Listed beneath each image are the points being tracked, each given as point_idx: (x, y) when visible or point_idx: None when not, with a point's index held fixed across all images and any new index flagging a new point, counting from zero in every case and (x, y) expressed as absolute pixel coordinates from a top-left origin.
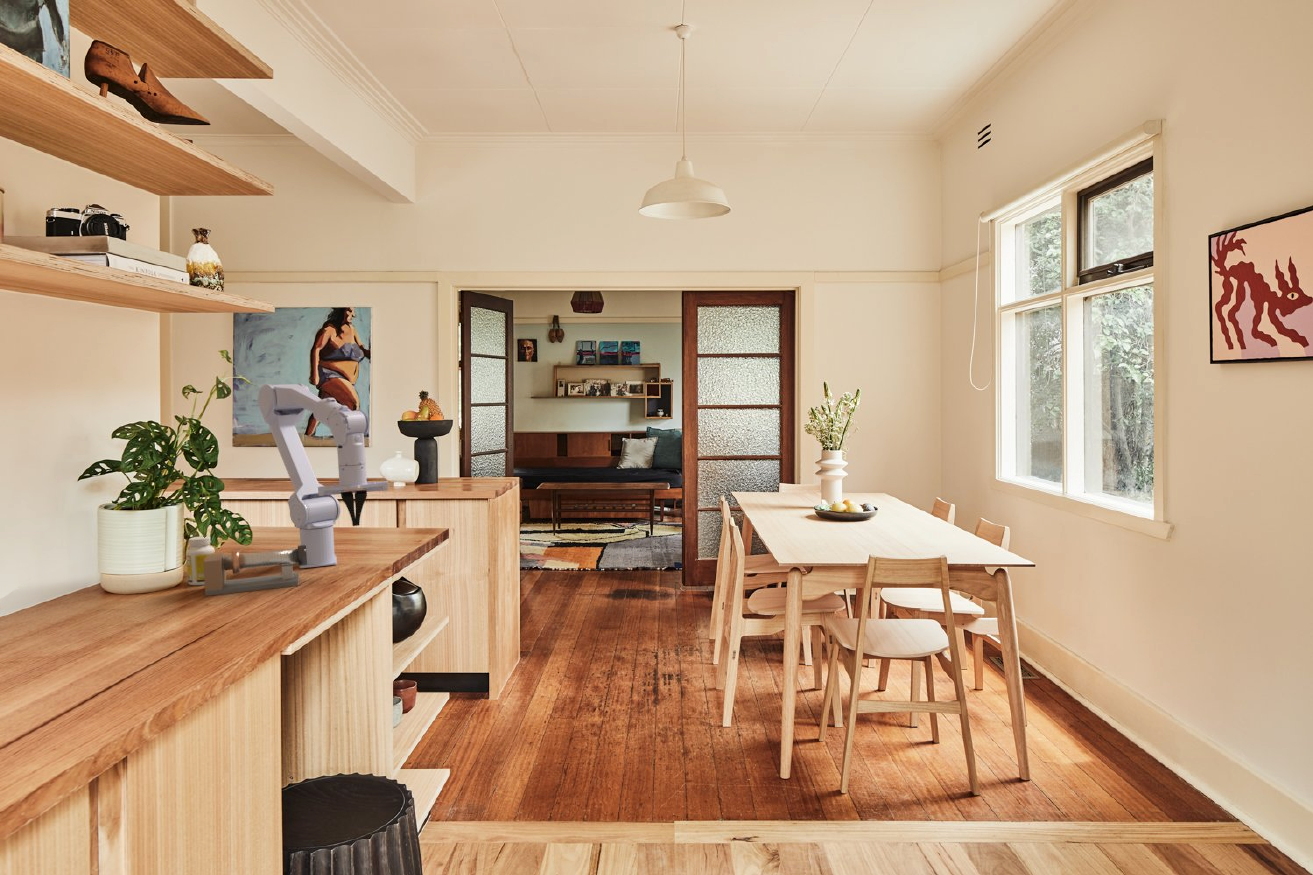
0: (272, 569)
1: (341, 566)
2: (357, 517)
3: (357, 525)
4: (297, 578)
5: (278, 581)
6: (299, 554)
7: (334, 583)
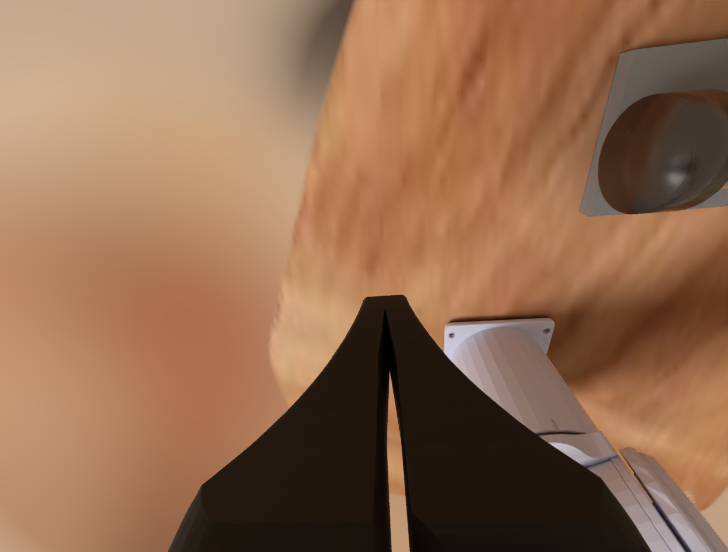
0: (619, 343)
1: (432, 304)
2: (371, 322)
3: (375, 296)
4: (621, 106)
5: (708, 77)
6: (714, 92)
7: (475, 28)
